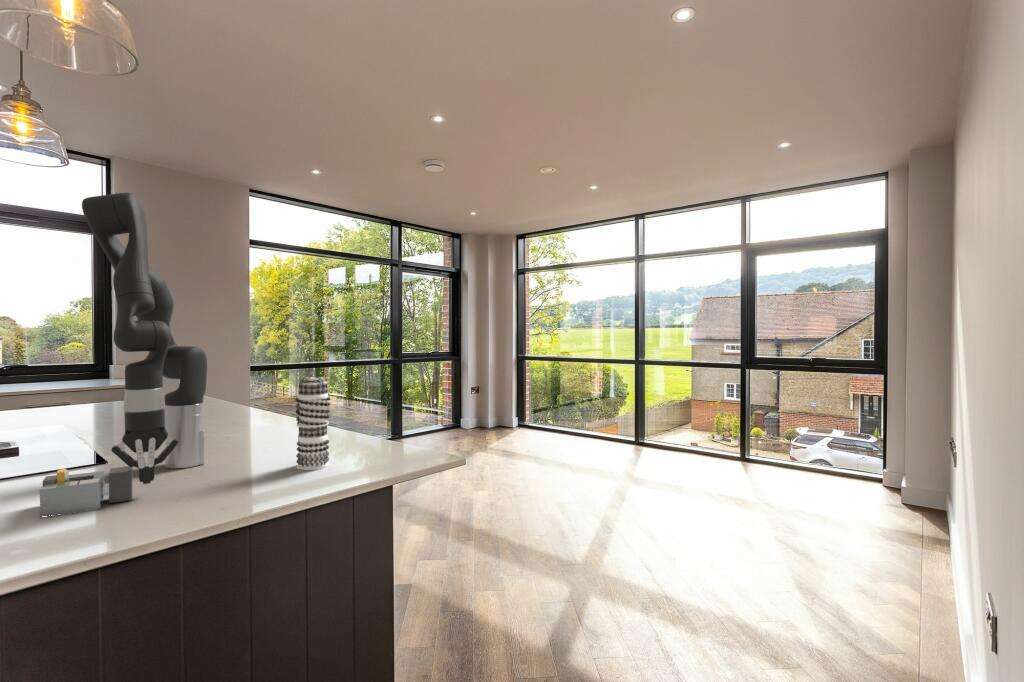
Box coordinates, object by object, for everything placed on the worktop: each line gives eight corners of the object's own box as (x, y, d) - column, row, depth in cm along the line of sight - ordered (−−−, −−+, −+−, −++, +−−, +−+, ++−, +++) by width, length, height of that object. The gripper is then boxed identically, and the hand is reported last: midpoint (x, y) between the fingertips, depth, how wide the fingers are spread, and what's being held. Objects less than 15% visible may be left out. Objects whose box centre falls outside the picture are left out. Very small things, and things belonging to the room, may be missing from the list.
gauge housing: (104, 496, 117) (104, 466, 117) (100, 509, 109) (99, 477, 109) (49, 503, 112) (48, 472, 112) (40, 518, 104) (39, 484, 103)
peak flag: (66, 500, 111) (66, 468, 111) (64, 504, 108) (64, 471, 108) (59, 501, 110) (58, 469, 110) (57, 505, 108) (56, 472, 108)
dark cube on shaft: (132, 493, 118) (132, 461, 118) (131, 499, 114) (131, 466, 114) (67, 502, 112) (67, 468, 112) (63, 509, 108) (63, 474, 107)
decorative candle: (326, 469, 141) (327, 379, 140) (291, 470, 139) (291, 379, 138) (333, 461, 150) (333, 375, 149) (299, 462, 148) (300, 375, 147)
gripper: (178, 403, 124) (180, 474, 124) (109, 408, 116) (111, 484, 117) (179, 407, 118) (181, 482, 118) (106, 413, 110) (108, 493, 111)
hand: (146, 483), depth 117 cm, fingers closed
